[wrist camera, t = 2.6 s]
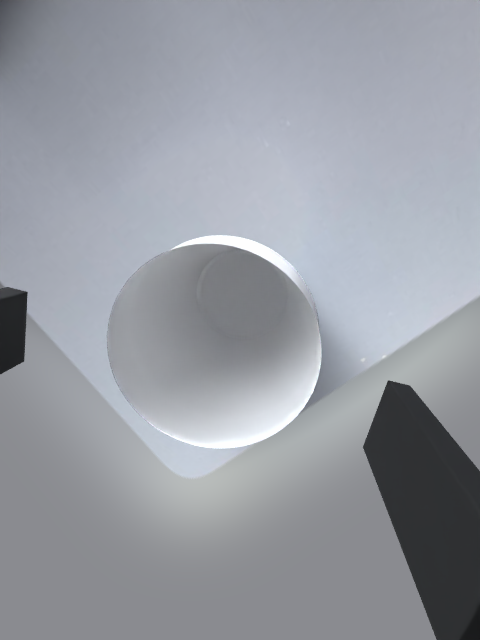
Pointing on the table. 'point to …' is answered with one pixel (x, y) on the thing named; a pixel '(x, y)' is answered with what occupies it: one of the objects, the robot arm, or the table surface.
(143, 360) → the cup
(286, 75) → the table surface
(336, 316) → the table surface
